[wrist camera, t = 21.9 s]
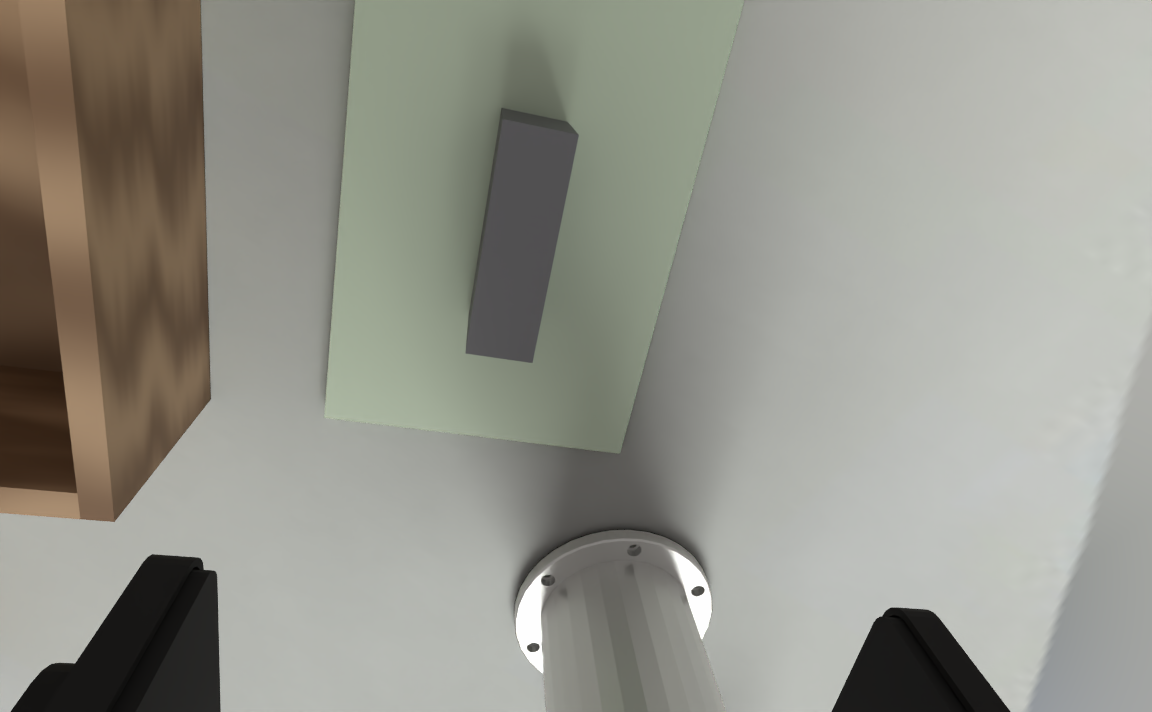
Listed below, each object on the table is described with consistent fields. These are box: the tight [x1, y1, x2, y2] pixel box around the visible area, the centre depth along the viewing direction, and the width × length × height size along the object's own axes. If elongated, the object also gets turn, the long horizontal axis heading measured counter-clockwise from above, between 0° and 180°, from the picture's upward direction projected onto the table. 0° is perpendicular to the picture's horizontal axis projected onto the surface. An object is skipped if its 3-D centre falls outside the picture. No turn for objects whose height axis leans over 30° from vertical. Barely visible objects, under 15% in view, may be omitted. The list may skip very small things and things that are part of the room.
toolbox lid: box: [324, 0, 745, 454], centre depth 31 cm, size 24×16×6 cm
